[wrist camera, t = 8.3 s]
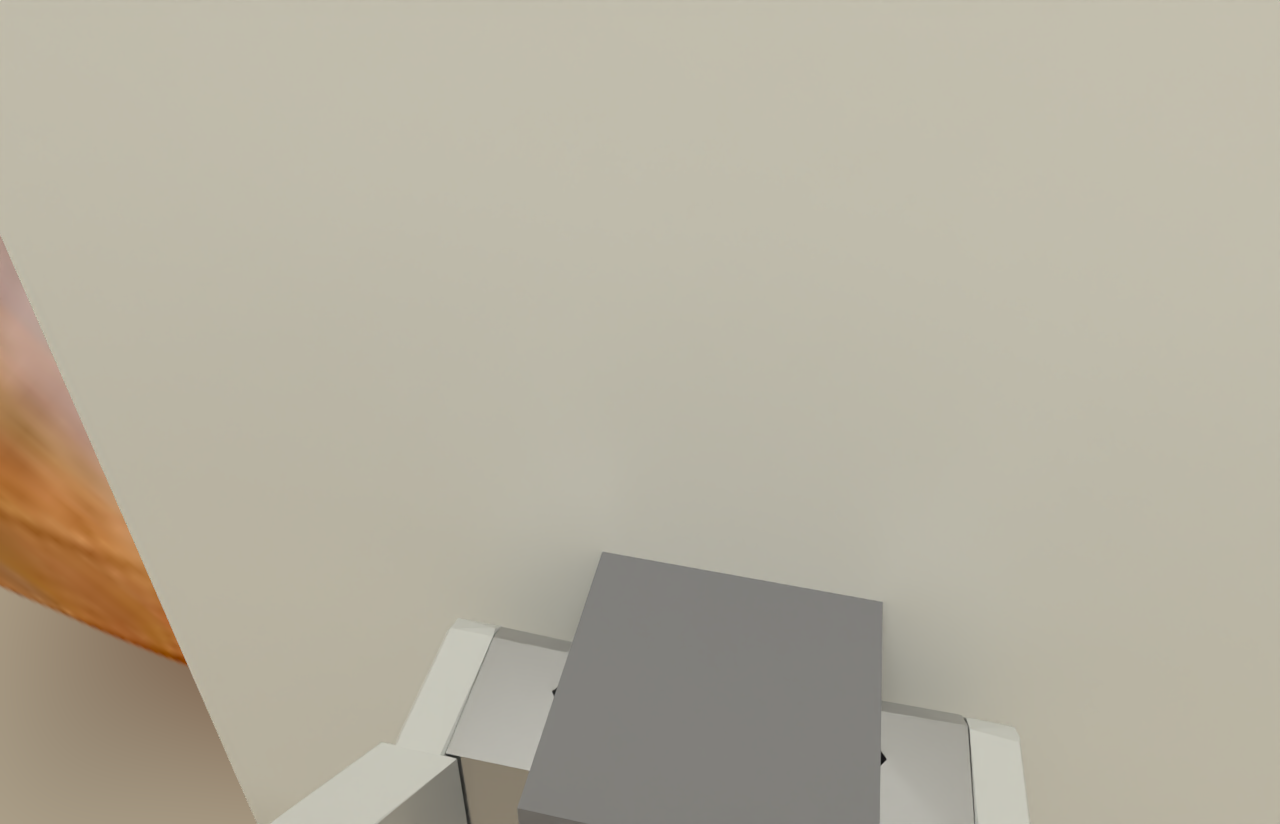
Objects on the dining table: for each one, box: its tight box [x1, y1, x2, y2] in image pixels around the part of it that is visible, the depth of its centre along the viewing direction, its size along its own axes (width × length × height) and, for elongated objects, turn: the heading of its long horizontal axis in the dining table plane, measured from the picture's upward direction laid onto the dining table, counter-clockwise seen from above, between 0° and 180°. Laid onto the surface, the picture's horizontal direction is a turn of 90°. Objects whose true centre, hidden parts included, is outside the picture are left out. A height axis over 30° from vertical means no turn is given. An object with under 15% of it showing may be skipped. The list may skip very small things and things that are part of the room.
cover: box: [0, 0, 1280, 824], centre depth 13 cm, size 15×15×11 cm
